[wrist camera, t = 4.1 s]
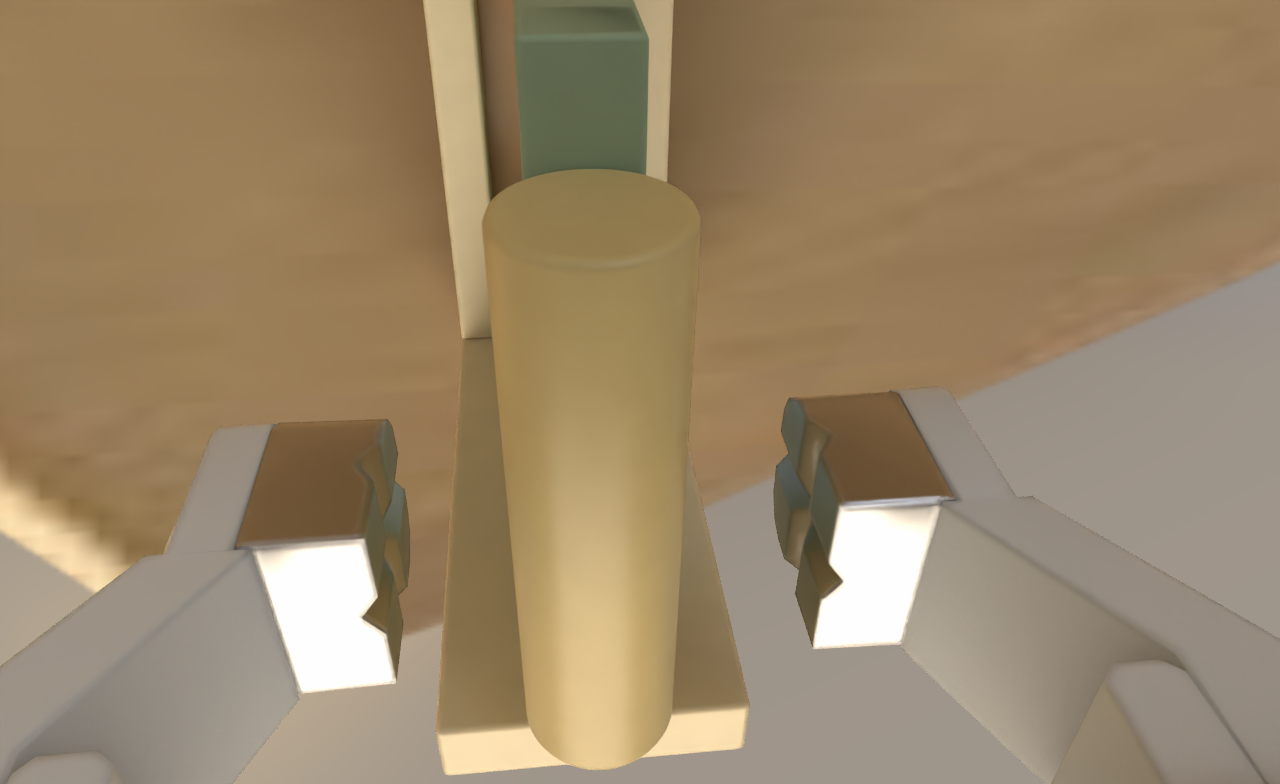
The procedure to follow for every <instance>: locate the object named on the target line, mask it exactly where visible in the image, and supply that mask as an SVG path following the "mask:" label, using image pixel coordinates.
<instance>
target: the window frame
mask: <svg viewBox="0 0 1280 784" xmlns="http://www.w3.org/2000/svg"><path fill="white" fill-rule="evenodd" d="M634 2H635V5H636V7H637V10H638V12H639V15H640V17H641V20H642V22H643V25H644V27H645V30H646V32H647V35H648V38H649V70H648V117H647V163H646V175H647V176H650V177H653V178H657V179H659V180H662V181H664V182H667V174H668V146H669V118H670V90H671V62H672V34H673V6H674V0H634ZM423 5H424V14H425V23H426V31H427V40H428V49H429V57H430V66H431V75H432V84H433V92H434V101H435V110H436V118H437V127H438V136H439V144H440V153H441V162H442V171H443V179H444V188H445V197H446V205H447V214H448V223H449V231H450V240H451V249H452V258H453V266H454V275H455V284H456V292H457V301H458V310H459V318H460V327H461V335H462V337H463V338H462V353H461V368H460V382H459V397H458V412H457V426H456V441H455V456H454V470H453V485H452V500H451V514H450V529H449V543H448V558H447V573H446V587H445V602H444V617H443V631H442V632H443V633H442V646H441V662H440V675H439V690H438V705H437V720H436V736H437V741H438V747H439V752H440V757H441V762H442V767H443V770H444V773H445V774H447V775H458V774H469V773H479V772H490V771H501V770H512V769H523V768H533V767H545V766H556V765H567V764H566V763H564V762H562V761H560V760H559V759H557V758H556V757H554V756H553V755H551V754H550V753H549V752H548V751H547V750H546V749H545V748H543V747H542V745H541V744H540V743H539V742H538V741H537V739H536V738H535V736H534V734H533V733H532V731H531V728H530V726H529V723H528V719H527V711H526V701H525V690H524V679H523V668H522V657H521V646H520V636H519V625H518V614H517V603H516V592H515V581H514V570H513V560H512V549H511V538H510V527H509V516H508V505H507V494H506V483H505V473H504V462H503V451H502V440H501V429H500V418H499V407H498V397H497V386H496V375H495V364H494V353H493V342H492V331H491V321H490V310H489V299H488V288H487V277H486V266H485V255H484V244H483V234H482V220H483V216H484V214H485V211H486V209H487V207H488V205H489V203H490V202H491V200H492V199H493V198H494V197H495V196H496V195H497V194H499V193H500V192H501V191H503V190H504V189H506V188H507V187H509V186H511V185H513V184H515V183H517V182H520V181H522V167H521V151H520V135H519V118H518V102H517V86H516V70H515V54H514V27H513V0H423ZM749 706H750V703H749V699H748V695H747V691H746V686H745V682H744V678H743V674H742V670H741V665H740V661H739V657H738V653H737V648H736V644H735V640H734V636H733V632H732V627H731V623H730V619H729V614H728V610H727V607H726V602H725V598H724V593H723V589H722V585H721V581H720V576H719V572H718V568H717V564H716V560H715V556H714V551H713V547H712V543H711V538H710V534H709V530H708V526H707V522H706V518H705V513H704V509H703V505H702V500H701V496H700V492H699V488H698V484H697V479H696V475H695V471H694V467H693V462H692V458H691V454H690V450H689V445H688V454H687V471H686V488H685V504H684V521H683V537H682V554H681V570H680V587H679V603H678V620H677V636H676V653H675V669H674V686H673V702H672V714H671V718H670V722H669V724H668V727H667V729H666V731H665V733H664V735H663V736H662V738H661V739H660V740H659V741H658V743H657V744H656V745H655V746H654V747H653V748H652V749H651V750H650V751H649V752H648V753H646V754H645V755H644V756H642V757H641V758H643V757H653V756H664V755H675V754H686V753H696V752H708V751H718V750H730V749H739V748H741V747H743V746H744V741H745V734H746V727H747V720H748V713H749Z"/></svg>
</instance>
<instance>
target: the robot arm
mask: <svg viewBox="0 0 1280 784" xmlns="http://www.w3.org/2000/svg"><path fill="white" fill-rule="evenodd" d="M781 433H782V436H783V439H784V441H785V444H786V447H787V450H788V454H787V455H786V456H785V458H784V459H783V460H782V461H781V462H780V463H779V464H778V465H777V466H776V473H775V482H774V516H775V524H776V529H777V534H778V539H779V543H780V546H781V550H782V553H783V556H784V559H785V560H787V561H788V562H789V563H791V564H792V565H793V566H794V567H796V568H797V569H798V570H799V574H798V580H797V586H796V592H795V594H796V598H797V601H798V604H799V607H800V610H801V613H802V616H803V619H804V622H805V625H806V629H807V631H808V635H809V638H810V641H811V644H812V647H813V649H824V648H842V647H859V646H878V645H897V644H902V647H901V649H902V650H903V651H904V652H905V653H907V655H909V656H910V657H911V658H912V659H913V660H914V661H915V662H916V663H917V664H918V665H919V666H920V667H921V668H922V669H923V670H925V671H926V672H927V673H928V674H929V675H930V676H931V677H932V678H933V679H934V680H935V681H936V682H937V683H938V684H940V685H941V686H942V687H943V688H944V689H945V690H946V691H947V692H948V693H949V694H950V695H951V696H952V697H953V698H954V699H956V701H958V702H959V703H960V704H961V705H962V706H963V707H964V708H965V709H966V710H967V711H968V712H969V713H970V714H971V715H972V716H974V717H975V718H976V719H977V720H978V721H979V722H980V723H981V724H982V725H983V726H984V727H985V728H986V729H987V730H988V731H989V732H991V733H992V734H993V735H994V736H995V737H996V738H997V739H998V740H999V741H1000V742H1001V743H1002V744H1003V745H1004V746H1005V747H1007V748H1008V749H1009V750H1010V751H1011V752H1012V753H1013V754H1014V755H1015V756H1016V757H1017V758H1018V759H1020V761H1021V762H1023V763H1024V764H1025V765H1026V766H1027V767H1028V768H1029V769H1030V770H1031V771H1032V772H1033V773H1034V774H1035V775H1036V776H1037V777H1039V778H1040V779H1041V780H1042V781H1043V782H1044V783H1045V784H1280V639H1279V638H1277V637H1276V636H1274V635H1272V634H1271V633H1269V632H1267V631H1265V630H1264V629H1262V628H1260V627H1258V626H1257V625H1255V624H1253V623H1251V622H1250V621H1248V620H1246V619H1244V618H1243V617H1241V616H1239V615H1237V614H1236V613H1234V612H1232V611H1231V610H1229V609H1227V608H1225V607H1224V606H1222V605H1220V604H1218V603H1217V602H1215V601H1213V600H1211V599H1210V598H1208V597H1206V596H1205V595H1203V594H1201V593H1199V592H1197V591H1196V590H1194V589H1192V588H1191V587H1189V586H1187V585H1185V584H1184V583H1182V582H1180V581H1178V580H1177V579H1175V578H1173V577H1172V576H1169V575H1168V574H1166V573H1165V572H1163V571H1161V570H1159V569H1158V568H1156V567H1154V566H1152V565H1151V564H1149V563H1147V562H1145V561H1144V560H1142V559H1140V558H1139V557H1137V556H1135V555H1133V554H1131V553H1130V552H1128V551H1126V550H1125V549H1123V548H1121V547H1119V546H1118V545H1116V544H1114V543H1112V542H1111V541H1109V540H1107V539H1106V538H1104V537H1102V536H1100V535H1099V534H1097V533H1095V532H1093V531H1092V530H1090V529H1088V528H1086V527H1085V526H1083V525H1081V524H1079V523H1078V522H1076V521H1074V520H1073V519H1071V518H1069V517H1067V516H1066V515H1064V514H1062V513H1060V512H1058V511H1057V510H1055V509H1053V508H1051V507H1050V506H1048V505H1046V504H1045V503H1043V502H1041V501H1040V500H1038V499H1036V498H1034V497H1033V496H1028V497H1016V495H1015V494H1014V492H1013V490H1012V489H1011V488H1010V486H1009V484H1008V483H1007V481H1006V479H1005V478H1004V476H1003V475H1002V473H1001V472H1000V470H999V469H998V467H997V465H996V464H995V462H994V461H993V459H992V457H991V456H990V454H989V453H988V451H987V450H986V448H985V446H984V445H983V443H982V442H981V440H980V439H979V437H978V435H977V434H976V432H975V431H974V429H973V428H972V426H971V424H970V423H969V421H968V420H967V418H966V417H965V415H964V413H963V412H962V410H961V409H960V407H959V406H958V404H957V402H956V401H955V399H954V398H953V396H952V395H951V393H950V392H949V391H948V390H946V389H945V388H943V387H941V386H933V387H921V388H909V389H897V390H890V391H889V392H877V393H860V394H843V395H827V396H810V397H793V398H789V399H788V401H787V404H786V406H785V409H784V414H783V420H782V427H781ZM397 457H398V451H397V446H396V442H395V437H394V432H393V427H392V425H391V424H390V422H389V421H388V419H380V420H350V421H321V422H292V423H278V424H277V425H276V424H252V425H231V426H221V427H220V428H218V429H217V430H216V431H214V432H213V433H212V434H211V436H210V437H209V440H208V442H207V445H206V447H205V450H204V452H203V455H202V457H201V460H200V462H199V465H198V467H197V470H196V473H195V475H194V478H193V480H192V483H191V485H190V488H189V490H188V493H187V495H186V498H185V500H184V503H183V505H182V508H181V510H180V513H179V515H178V518H177V520H176V523H175V525H174V528H173V530H172V533H171V535H170V538H169V540H168V543H167V545H166V548H165V550H164V553H163V555H153V556H144V557H143V558H142V559H140V560H139V561H138V562H136V563H135V564H134V565H133V566H131V567H130V568H129V569H127V570H126V571H125V572H123V573H122V574H121V575H119V576H118V577H117V578H115V579H114V580H113V581H112V582H110V583H109V584H108V585H106V586H105V587H104V588H102V589H101V590H100V591H98V592H97V593H96V594H94V595H93V596H92V597H91V598H89V599H88V600H87V601H85V602H84V603H83V604H81V605H80V606H79V607H77V608H76V609H75V610H73V611H72V612H71V613H70V614H68V615H67V616H66V617H64V618H63V619H62V620H61V621H59V622H58V623H56V625H54V626H52V627H51V628H50V629H49V630H47V631H46V632H45V633H43V634H42V635H41V636H39V637H38V638H37V639H35V640H34V641H33V642H32V643H30V644H29V645H28V646H26V647H25V648H24V649H22V650H21V651H20V652H18V653H17V654H16V655H14V656H13V657H12V658H10V659H9V660H8V661H7V662H5V663H4V664H3V665H1V666H0V784H233V783H234V781H235V780H236V779H237V778H238V776H239V775H240V774H241V773H242V771H243V770H244V769H245V767H246V766H247V765H248V764H249V763H250V761H251V760H252V759H253V757H254V756H255V755H256V754H257V752H258V751H259V750H260V749H261V747H262V746H263V745H264V744H265V742H266V741H267V740H268V739H269V737H270V736H271V735H272V733H273V732H274V731H275V730H276V728H277V727H278V725H280V723H281V722H282V721H283V720H284V718H285V717H286V716H287V714H288V713H289V712H290V711H291V709H292V708H293V707H294V706H295V704H296V703H297V702H298V700H299V696H298V694H301V693H311V692H320V691H329V690H338V689H348V688H356V687H366V686H375V685H384V684H393V683H396V681H397V672H398V664H399V656H400V647H401V639H402V631H403V619H402V614H401V609H400V604H399V599H398V595H399V594H400V593H401V592H402V591H403V590H404V589H405V588H406V587H407V586H408V575H409V565H410V528H409V518H408V508H407V502H406V496H405V490H404V489H403V488H402V487H401V486H400V485H399V484H397V483H396V482H395V481H394V480H395V473H396V465H397Z"/></svg>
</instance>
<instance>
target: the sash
mask: <svg viewBox="0 0 1280 784" xmlns="http://www.w3.org/2000/svg"><path fill="white" fill-rule="evenodd" d="M513 27H514V54H515V70H516V86H517V102H518V118H519V135H520V151H521V167H522V181H520V182H517V183H515V184H513V185H511V186H509V187H507V188H506V189H504V190H503V191H501V192H500V193H499V194H497V195H496V196H495V197H494V198H493V199H492V200H491V202H490V203H489V205H488V207H487V209H486V211H485V214H484V216H483V220H482V234H483V244H484V255H485V266H486V277H487V288H488V299H489V310H490V321H491V331H492V342H493V353H494V364H495V375H496V386H497V397H498V407H499V418H500V429H501V440H502V451H503V462H504V473H505V483H506V494H507V505H508V516H509V527H510V538H511V549H512V560H513V570H514V581H515V592H516V603H517V614H518V625H519V636H520V646H521V657H522V668H523V679H524V690H525V701H526V711H527V719H528V723H529V726H530V728H531V731H532V733H533V734H534V736H535V738H536V739H537V741H538V742H539V743H540V744H541V745H542V747H543V748H545V749H546V750H547V751H548V752H549V753H550V754H551V755H553V756H554V757H556V758H557V759H559V760H560V761H562V762H564V763H566V764H569V765H572V766H575V767H578V768H583V769H590V770H607V769H613V768H617V767H620V766H624V765H627V764H629V763H632V762H634V761H636V760H637V759H639V758H641V757H642V756H644V755H645V754H646V753H648V752H649V751H650V750H651V749H652V748H653V747H654V746H655V745H656V744H657V743H658V741H659V740H660V739H661V738H662V736H663V735H664V733H665V731H666V729H667V727H668V724H669V722H670V718H671V714H672V702H673V686H674V669H675V653H676V636H677V620H678V603H679V587H680V570H681V554H682V537H683V521H684V504H685V488H686V471H687V454H688V438H689V421H690V405H691V388H692V372H693V355H694V339H695V322H696V306H697V289H698V273H699V256H700V240H701V219H700V215H699V213H698V210H697V208H696V206H695V204H694V202H693V201H692V200H691V199H690V197H689V196H687V195H686V194H685V193H684V192H683V191H681V190H680V189H678V188H677V187H675V186H673V185H671V184H669V183H667V182H664V181H662V180H659V179H657V178H653V177H650V176H647V175H646V163H647V117H648V70H649V38H648V35H647V32H646V30H645V27H644V25H643V22H642V20H641V17H640V15H639V12H638V10H637V7H636V5H635V2H634V0H513Z"/></svg>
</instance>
